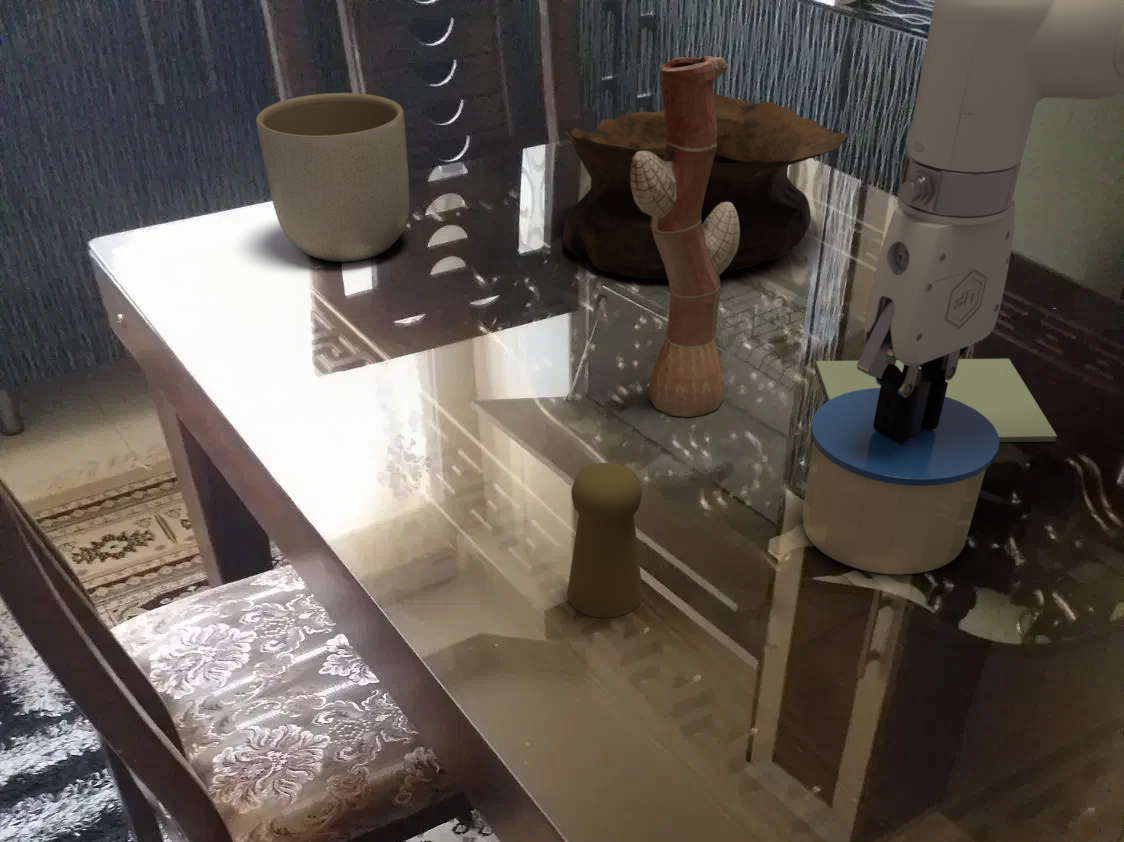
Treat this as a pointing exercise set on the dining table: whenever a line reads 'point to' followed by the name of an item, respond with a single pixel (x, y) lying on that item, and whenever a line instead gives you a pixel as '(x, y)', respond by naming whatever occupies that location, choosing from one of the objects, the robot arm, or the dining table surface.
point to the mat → (964, 394)
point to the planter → (337, 172)
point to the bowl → (736, 176)
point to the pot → (886, 519)
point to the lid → (919, 461)
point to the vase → (687, 237)
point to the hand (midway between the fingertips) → (905, 427)
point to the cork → (605, 542)
